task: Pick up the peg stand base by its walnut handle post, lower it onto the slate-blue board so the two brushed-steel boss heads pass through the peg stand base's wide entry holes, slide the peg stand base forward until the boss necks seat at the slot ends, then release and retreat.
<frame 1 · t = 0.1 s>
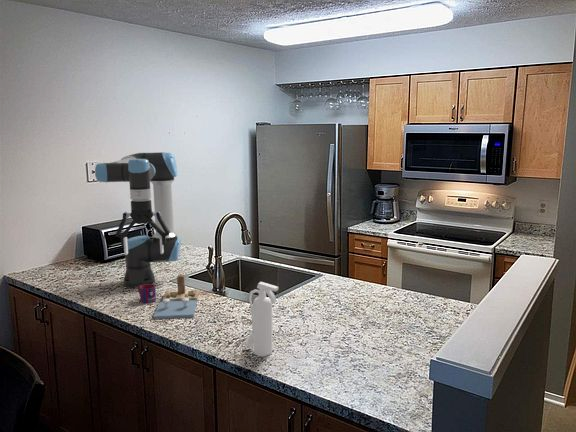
hand: (144, 253, 180), 28 cm above the counter, fingers open, 13 cm apart
peg stand base: (181, 297, 210), on the counter
fire extinguisher: (261, 351, 159), on the counter
mug: (146, 300, 208), on the counter
board: (176, 310, 195), on the counter
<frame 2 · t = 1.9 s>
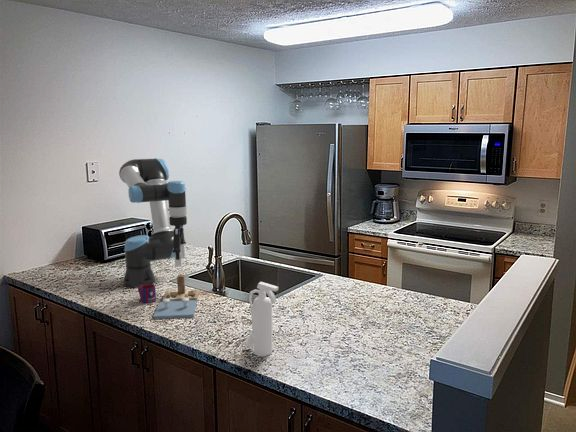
hand: (180, 262, 208), 17 cm above the counter, fingers open, 13 cm apart
nothing on the counter moved.
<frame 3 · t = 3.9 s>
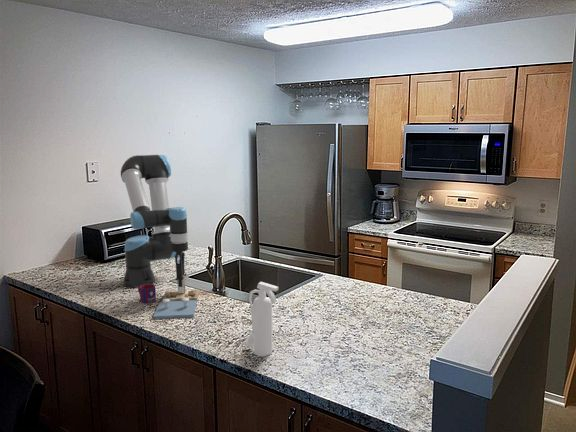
hand: (181, 291, 211), 3 cm above the counter, fingers closed on peg stand base, 3 cm apart
peg stand base: (181, 297, 210), on the counter, touching gripper
everything else where it was.
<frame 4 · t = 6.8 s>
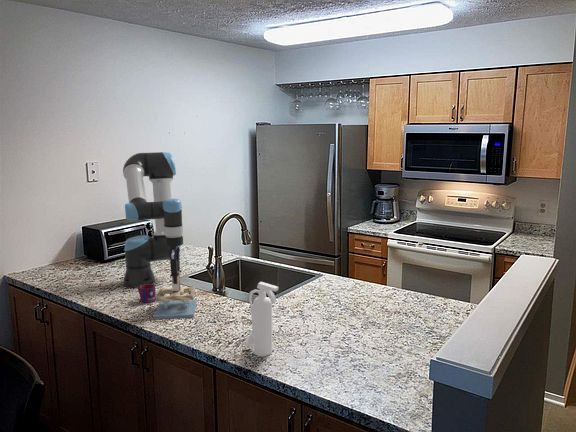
hand: (176, 288, 198), 8 cm above the counter, fingers closed on peg stand base, 3 cm apart
peg stand base: (176, 295, 197), point 6 cm above the counter, touching gripper
everything else where it was.
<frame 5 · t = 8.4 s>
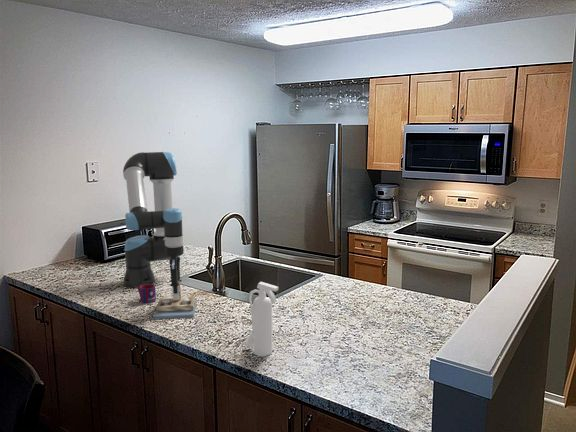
hand: (176, 298, 198), 4 cm above the counter, fingers closed on peg stand base, 3 cm apart
peg stand base: (176, 305, 197), point 2 cm above the counter, touching gripper
everything else where it was.
when the fingers open (4 cm above the counter, at t = 10.0 s): peg stand base stays where it is, resting on board.
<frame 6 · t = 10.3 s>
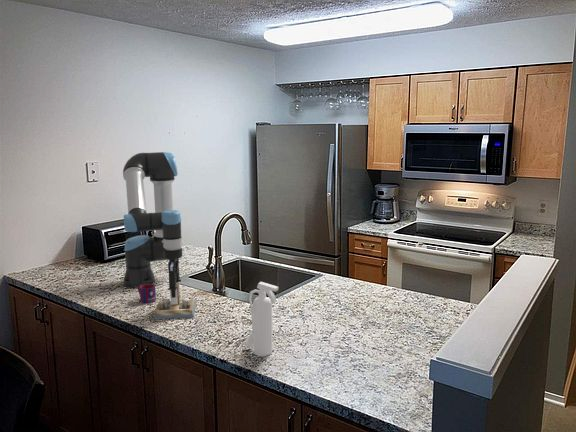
hand: (175, 300, 194), 5 cm above the counter, fingers open, 7 cm apart
peg stand base: (175, 309, 193), point 1 cm above the counter, touching board
everything else where it was.
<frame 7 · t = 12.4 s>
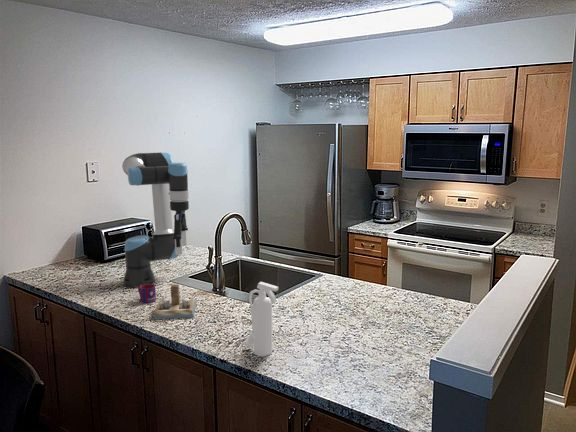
hand: (181, 249, 195), 25 cm above the counter, fingers open, 13 cm apart
nothing on the counter moved.
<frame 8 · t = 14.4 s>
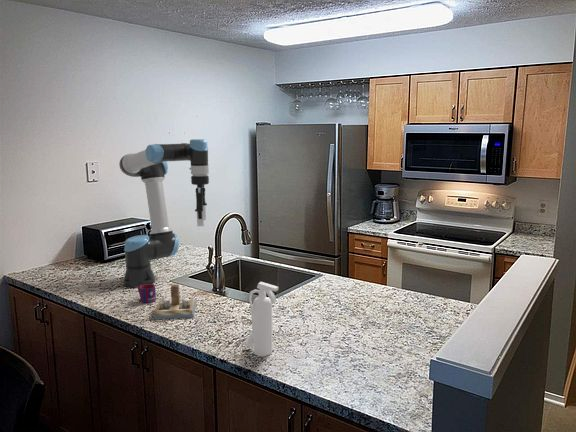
hand: (201, 223, 204), 35 cm above the counter, fingers open, 13 cm apart
nothing on the counter moved.
at the end: peg stand base 0.4 cm from the target spot, point 1.2 cm above the counter; the gripper is holding nothing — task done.
